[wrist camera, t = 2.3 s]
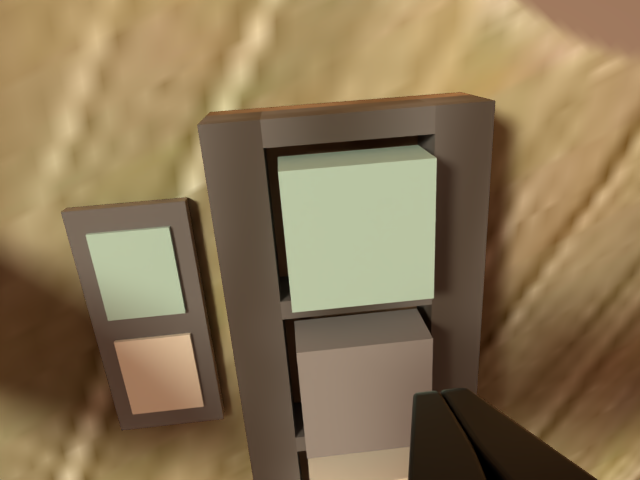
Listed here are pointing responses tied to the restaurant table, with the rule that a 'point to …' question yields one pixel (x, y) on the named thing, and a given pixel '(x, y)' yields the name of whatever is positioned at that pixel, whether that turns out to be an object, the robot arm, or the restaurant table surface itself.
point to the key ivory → (362, 466)
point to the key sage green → (359, 226)
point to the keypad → (270, 251)
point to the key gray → (361, 380)
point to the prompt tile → (147, 310)
